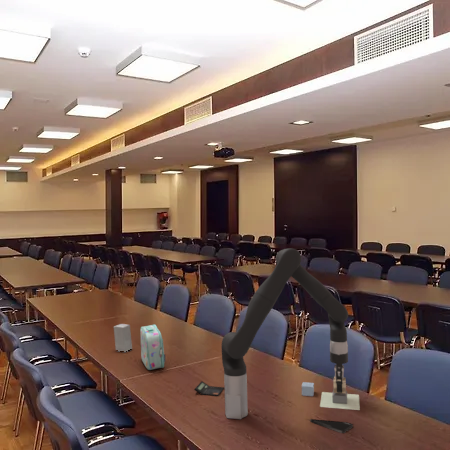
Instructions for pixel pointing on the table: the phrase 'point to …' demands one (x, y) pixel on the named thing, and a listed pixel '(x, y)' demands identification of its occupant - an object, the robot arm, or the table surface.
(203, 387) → the calculator
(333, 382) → the birch block
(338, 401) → the base brick
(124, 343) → the skincare box
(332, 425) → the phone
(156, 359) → the lunch box
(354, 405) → the plate
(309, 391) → the blue block
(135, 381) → the table surface
